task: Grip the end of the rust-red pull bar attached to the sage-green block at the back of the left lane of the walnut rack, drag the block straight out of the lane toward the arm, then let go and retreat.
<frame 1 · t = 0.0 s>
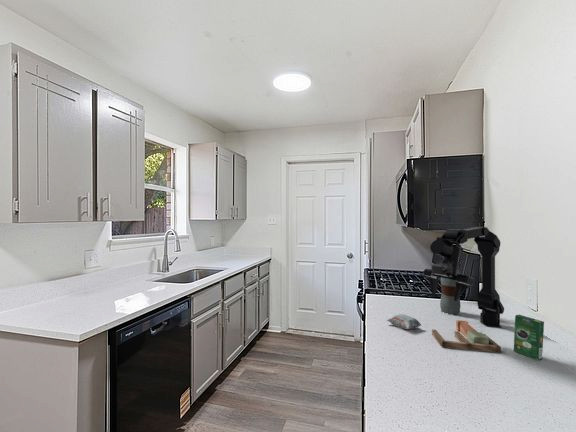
hand: (444, 298, 123), 15 cm above the worktop, fingers open, 9 cm apart
packaged food: (403, 328, 134), on the worktop
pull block: (477, 345, 116), on the worktop
coffee box: (528, 356, 108), on the worktop
bottle: (449, 312, 158), on the worktop
lane rack: (476, 344, 117), on the worktop
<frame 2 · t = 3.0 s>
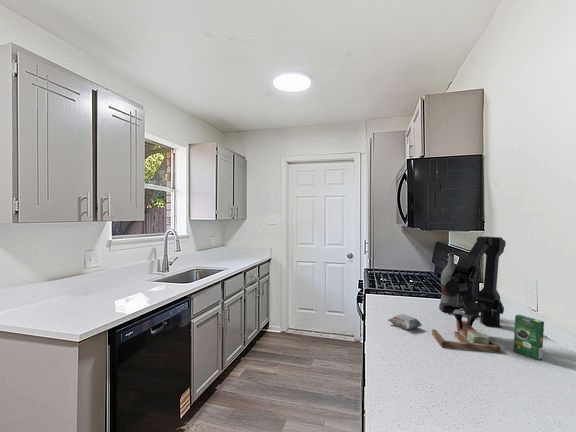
hand: (464, 330, 128), 1 cm above the worktop, fingers closed on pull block, 2 cm apart
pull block: (477, 345, 116), on the worktop, touching gripper
everything else where it was.
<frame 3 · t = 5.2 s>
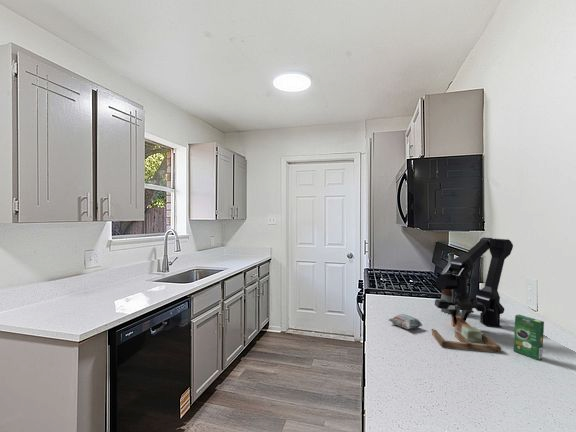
hand: (458, 325, 135), 1 cm above the worktop, fingers closed on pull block, 2 cm apart
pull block: (471, 339, 122), on the worktop, touching gripper
everything else where it was.
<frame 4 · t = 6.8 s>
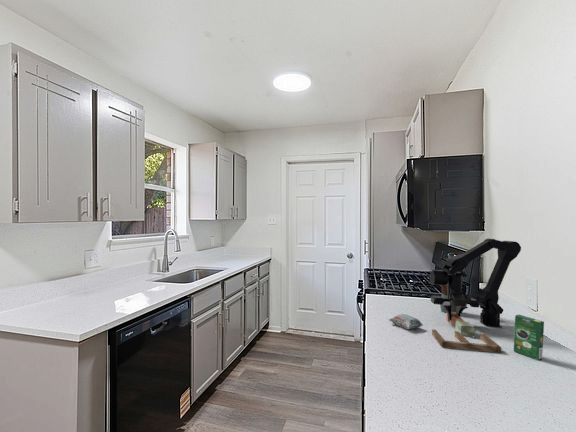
hand: (453, 320, 141), 1 cm above the worktop, fingers closed on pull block, 2 cm apart
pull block: (464, 333, 128), on the worktop, touching gripper
everything else where it was.
when the fingers open (1 cm above the worktop, at t = 7.6 s): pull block stays where it is, on the worktop.
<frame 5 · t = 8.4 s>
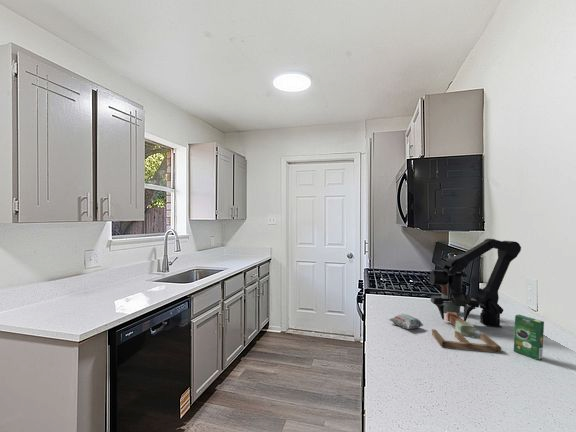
hand: (453, 320, 141), 1 cm above the worktop, fingers open, 9 cm apart
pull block: (464, 333, 128), on the worktop
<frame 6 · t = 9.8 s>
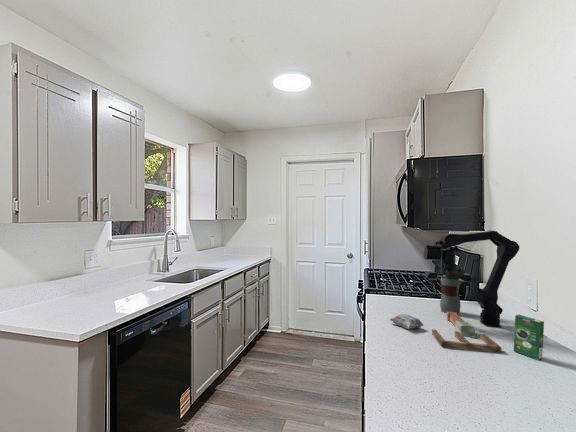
hand: (446, 294, 143), 12 cm above the worktop, fingers open, 9 cm apart
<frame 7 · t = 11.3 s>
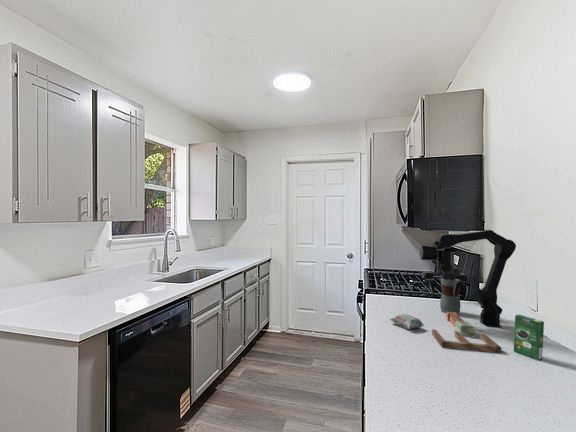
hand: (443, 294, 144), 12 cm above the worktop, fingers open, 9 cm apart
at the end: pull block inside the target area (3.6 cm from its centre), on the worktop; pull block tilted 0°; the gripper is holding nothing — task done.
